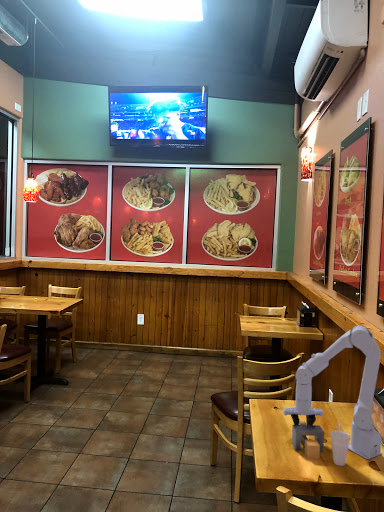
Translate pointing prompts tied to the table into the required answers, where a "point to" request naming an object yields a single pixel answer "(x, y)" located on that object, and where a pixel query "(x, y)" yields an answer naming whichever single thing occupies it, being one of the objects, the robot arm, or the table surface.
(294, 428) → the housing
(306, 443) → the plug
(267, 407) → the table surface
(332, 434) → the smoothie
